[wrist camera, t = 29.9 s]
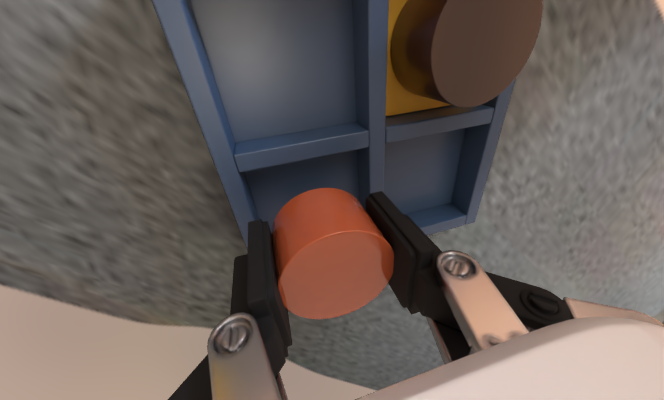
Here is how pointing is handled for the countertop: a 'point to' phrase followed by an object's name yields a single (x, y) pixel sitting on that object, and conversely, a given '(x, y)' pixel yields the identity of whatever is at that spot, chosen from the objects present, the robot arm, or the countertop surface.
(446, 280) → the robot arm
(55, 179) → the countertop surface
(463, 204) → the grid
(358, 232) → the cylinder
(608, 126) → the countertop surface
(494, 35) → the cylinder
